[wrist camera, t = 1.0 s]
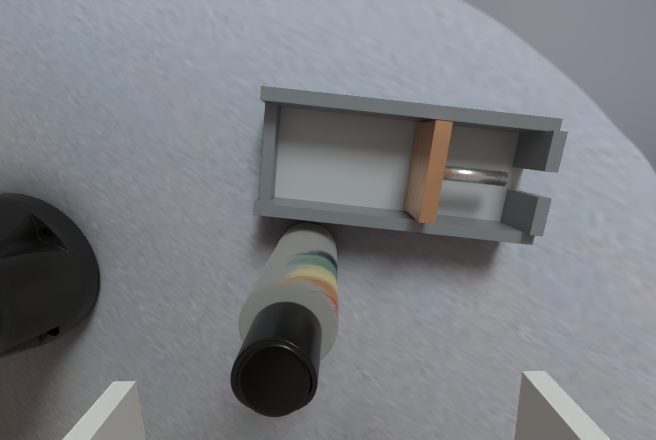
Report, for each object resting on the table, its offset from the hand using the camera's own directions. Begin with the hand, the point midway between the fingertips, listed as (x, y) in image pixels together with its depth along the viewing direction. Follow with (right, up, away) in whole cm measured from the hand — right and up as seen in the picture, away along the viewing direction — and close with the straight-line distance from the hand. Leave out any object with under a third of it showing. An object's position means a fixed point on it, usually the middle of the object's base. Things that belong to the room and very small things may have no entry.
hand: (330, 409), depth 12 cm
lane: (+6, +12, +21) cm, 24 cm away
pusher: (+11, +11, +19) cm, 25 cm away
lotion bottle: (-2, +4, +23) cm, 23 cm away
